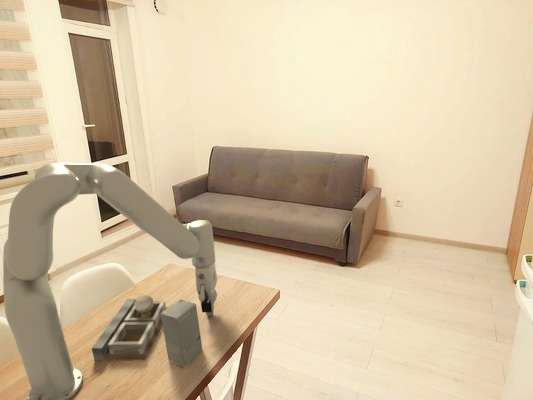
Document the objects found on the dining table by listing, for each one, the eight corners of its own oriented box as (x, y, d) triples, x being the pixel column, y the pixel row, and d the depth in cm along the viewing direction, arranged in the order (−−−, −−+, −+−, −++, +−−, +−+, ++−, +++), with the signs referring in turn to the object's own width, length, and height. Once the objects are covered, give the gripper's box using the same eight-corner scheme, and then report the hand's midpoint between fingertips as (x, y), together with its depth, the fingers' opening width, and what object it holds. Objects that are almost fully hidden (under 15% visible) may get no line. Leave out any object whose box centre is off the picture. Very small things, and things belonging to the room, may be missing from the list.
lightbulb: (210, 323, 112) (207, 294, 109) (197, 317, 115) (193, 289, 112) (222, 313, 117) (219, 285, 113) (209, 308, 120) (206, 280, 117)
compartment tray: (145, 360, 98) (139, 331, 95) (94, 360, 99) (87, 332, 96) (170, 309, 121) (166, 285, 118) (129, 309, 121) (124, 285, 118)
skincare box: (184, 368, 94) (177, 320, 89) (166, 360, 98) (158, 313, 93) (204, 348, 101) (198, 303, 96) (186, 341, 104) (179, 297, 100)
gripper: (209, 271, 101) (215, 322, 107) (219, 246, 117) (223, 291, 123) (184, 271, 101) (191, 322, 107) (198, 246, 118) (203, 291, 123)
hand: (208, 305), depth 115 cm, fingers closed on lightbulb, 5 cm apart
